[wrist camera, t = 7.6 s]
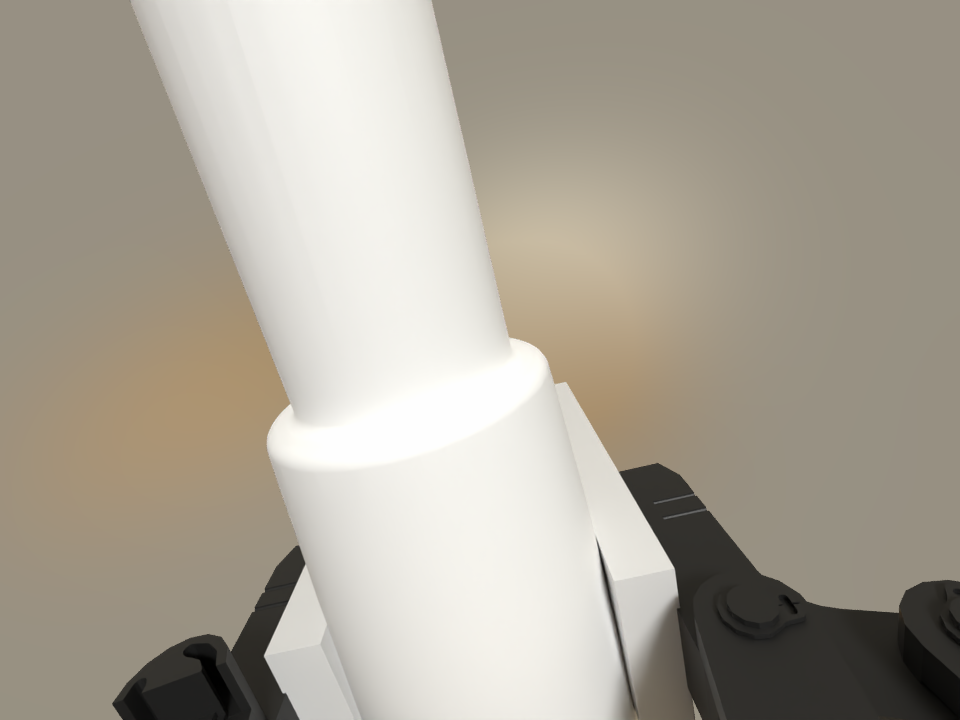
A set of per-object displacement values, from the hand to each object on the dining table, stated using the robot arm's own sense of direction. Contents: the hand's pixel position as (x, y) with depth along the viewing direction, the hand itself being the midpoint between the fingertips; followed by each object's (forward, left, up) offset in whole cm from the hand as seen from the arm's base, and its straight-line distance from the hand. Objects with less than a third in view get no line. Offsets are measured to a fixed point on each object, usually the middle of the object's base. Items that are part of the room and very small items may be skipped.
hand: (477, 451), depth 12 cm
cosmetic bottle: (0, -5, -12) cm, 13 cm away
